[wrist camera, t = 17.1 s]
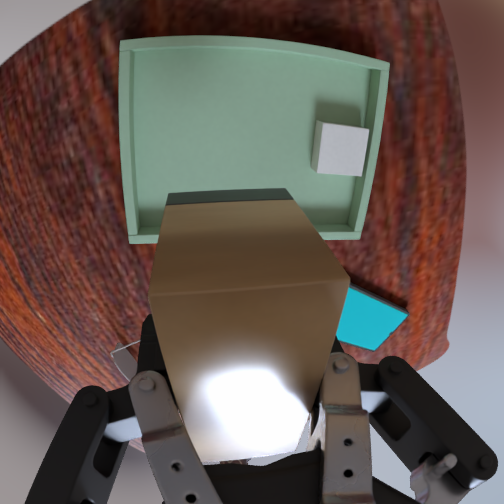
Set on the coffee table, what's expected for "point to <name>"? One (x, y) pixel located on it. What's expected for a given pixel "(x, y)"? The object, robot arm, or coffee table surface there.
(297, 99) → the tray
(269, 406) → the eraser
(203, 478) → the robot arm
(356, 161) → the chalk lump
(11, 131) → the coffee table surface
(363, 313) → the smartphone
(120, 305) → the coffee table surface
